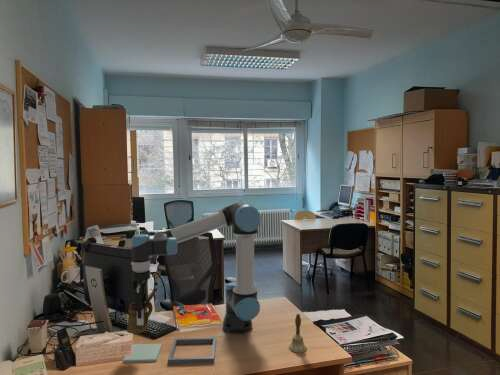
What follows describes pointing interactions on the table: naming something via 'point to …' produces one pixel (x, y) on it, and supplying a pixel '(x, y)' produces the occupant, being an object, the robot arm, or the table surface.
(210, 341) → the frame
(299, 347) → the hand bell
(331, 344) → the table surface
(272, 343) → the table surface
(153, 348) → the coaster
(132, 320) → the wooden mug
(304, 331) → the table surface
